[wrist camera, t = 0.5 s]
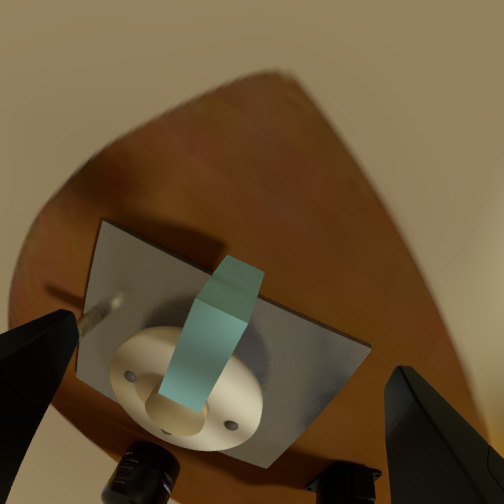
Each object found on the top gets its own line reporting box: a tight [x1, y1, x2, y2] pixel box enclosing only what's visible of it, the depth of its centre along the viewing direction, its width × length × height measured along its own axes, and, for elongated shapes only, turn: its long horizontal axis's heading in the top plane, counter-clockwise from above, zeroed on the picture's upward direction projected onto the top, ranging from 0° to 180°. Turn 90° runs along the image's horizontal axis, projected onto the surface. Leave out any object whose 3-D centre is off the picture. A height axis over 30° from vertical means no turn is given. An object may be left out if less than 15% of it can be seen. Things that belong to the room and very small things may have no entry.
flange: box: [110, 255, 265, 451], centre depth 19 cm, size 18×12×6 cm
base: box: [76, 219, 372, 469], centre depth 22 cm, size 18×22×6 cm
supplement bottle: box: [101, 442, 180, 504], centre depth 25 cm, size 7×7×12 cm
